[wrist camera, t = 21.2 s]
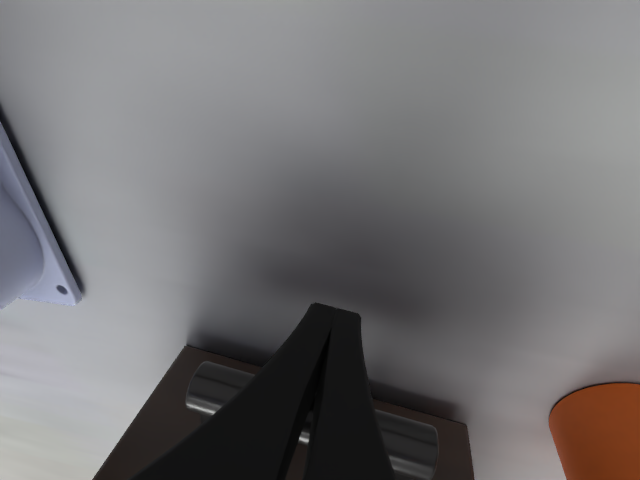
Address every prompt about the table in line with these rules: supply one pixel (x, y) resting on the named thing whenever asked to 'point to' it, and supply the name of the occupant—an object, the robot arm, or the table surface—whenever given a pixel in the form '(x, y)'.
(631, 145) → the table surface
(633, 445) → the bottle
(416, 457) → the drawer
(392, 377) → the table surface
